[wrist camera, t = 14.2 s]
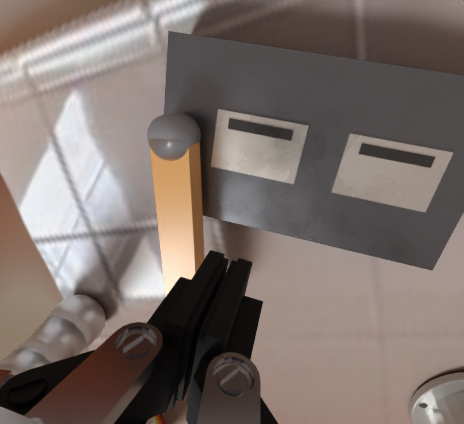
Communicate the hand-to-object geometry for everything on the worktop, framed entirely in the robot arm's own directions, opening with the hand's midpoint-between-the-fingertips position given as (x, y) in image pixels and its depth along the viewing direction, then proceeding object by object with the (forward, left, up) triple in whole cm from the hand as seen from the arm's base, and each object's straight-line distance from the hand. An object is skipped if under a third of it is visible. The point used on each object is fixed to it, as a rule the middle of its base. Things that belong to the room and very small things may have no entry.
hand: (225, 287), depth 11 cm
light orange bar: (+6, +6, -13) cm, 16 cm away
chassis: (-3, -3, -18) cm, 19 cm away
